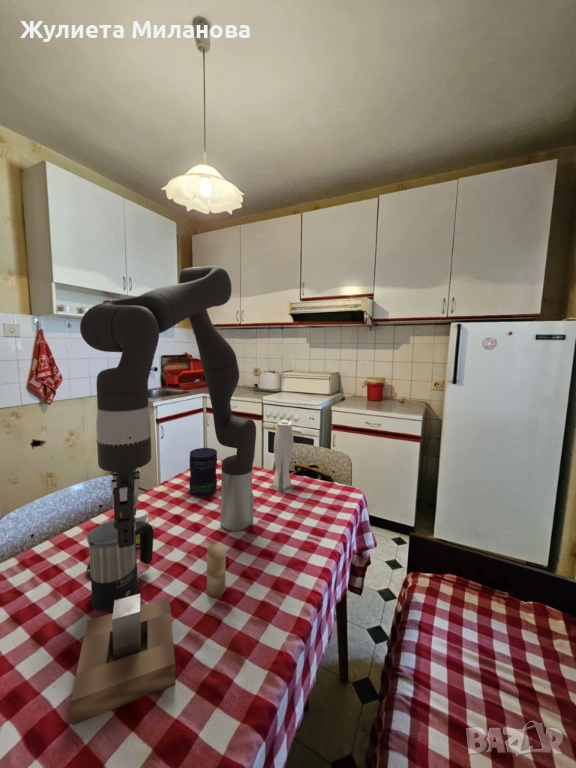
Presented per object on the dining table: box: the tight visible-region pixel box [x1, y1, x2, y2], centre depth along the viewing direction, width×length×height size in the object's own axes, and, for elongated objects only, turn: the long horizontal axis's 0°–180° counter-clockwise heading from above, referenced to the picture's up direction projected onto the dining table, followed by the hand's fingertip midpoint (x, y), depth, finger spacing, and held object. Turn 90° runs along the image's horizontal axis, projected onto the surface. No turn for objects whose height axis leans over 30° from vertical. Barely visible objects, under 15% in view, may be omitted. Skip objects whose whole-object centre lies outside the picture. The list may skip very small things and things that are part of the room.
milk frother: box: [86, 520, 154, 612], centre depth 69 cm, size 14×16×15 cm
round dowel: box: [206, 542, 227, 598], centre depth 69 cm, size 4×4×10 cm
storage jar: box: [188, 447, 218, 498], centre depth 114 cm, size 10×10×15 cm
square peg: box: [112, 593, 142, 661], centre depth 53 cm, size 4×4×10 cm
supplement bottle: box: [135, 509, 150, 548], centre depth 84 cm, size 5×5×8 cm
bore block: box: [69, 596, 176, 726], centre depth 53 cm, size 14×14×4 cm
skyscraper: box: [268, 415, 295, 494], centre depth 120 cm, size 8×8×28 cm
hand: (127, 529), depth 51 cm, fingers open, 8 cm apart
